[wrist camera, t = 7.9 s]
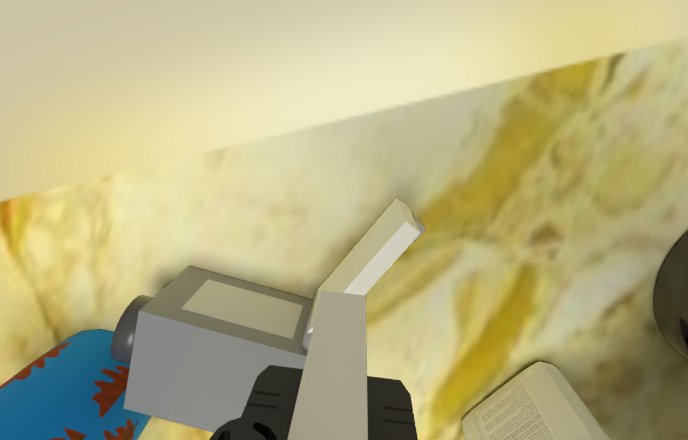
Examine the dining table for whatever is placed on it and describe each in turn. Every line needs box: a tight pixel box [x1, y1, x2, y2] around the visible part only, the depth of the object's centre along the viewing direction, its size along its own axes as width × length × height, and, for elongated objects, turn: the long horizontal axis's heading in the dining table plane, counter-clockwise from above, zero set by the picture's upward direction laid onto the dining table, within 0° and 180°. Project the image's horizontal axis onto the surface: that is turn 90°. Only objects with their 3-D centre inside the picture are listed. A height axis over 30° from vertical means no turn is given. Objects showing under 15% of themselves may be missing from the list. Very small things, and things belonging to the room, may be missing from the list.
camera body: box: [111, 266, 313, 433], centre depth 31 cm, size 15×8×9 cm, turn 74°
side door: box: [302, 198, 426, 350], centre depth 29 cm, size 11×2×8 cm, turn 141°
